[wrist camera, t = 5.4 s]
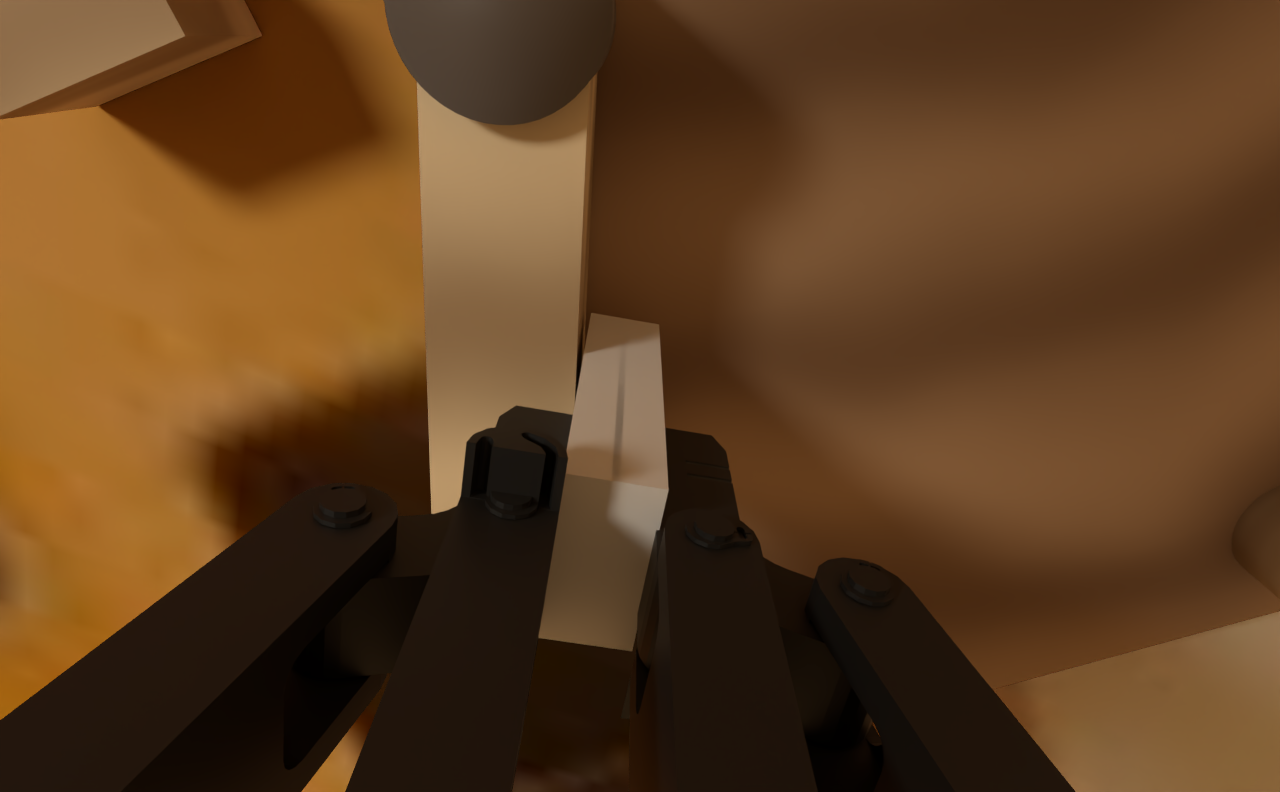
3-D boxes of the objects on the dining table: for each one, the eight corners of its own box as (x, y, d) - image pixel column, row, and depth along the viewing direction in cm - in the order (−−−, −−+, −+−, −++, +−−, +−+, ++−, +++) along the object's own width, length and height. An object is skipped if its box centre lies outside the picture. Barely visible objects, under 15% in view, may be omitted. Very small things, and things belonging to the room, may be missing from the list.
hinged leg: (441, -94, 15) (377, -136, 11) (622, -79, 15) (618, -116, 11) (453, 478, 19) (411, 583, 16) (590, 486, 19) (580, 592, 16)
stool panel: (25, -12, 17) (-315, -39, 11) (1327, -602, 13) (1889, -1116, 7) (501, 783, 26) (461, 1010, 20) (1349, 545, 22) (1612, 731, 16)
